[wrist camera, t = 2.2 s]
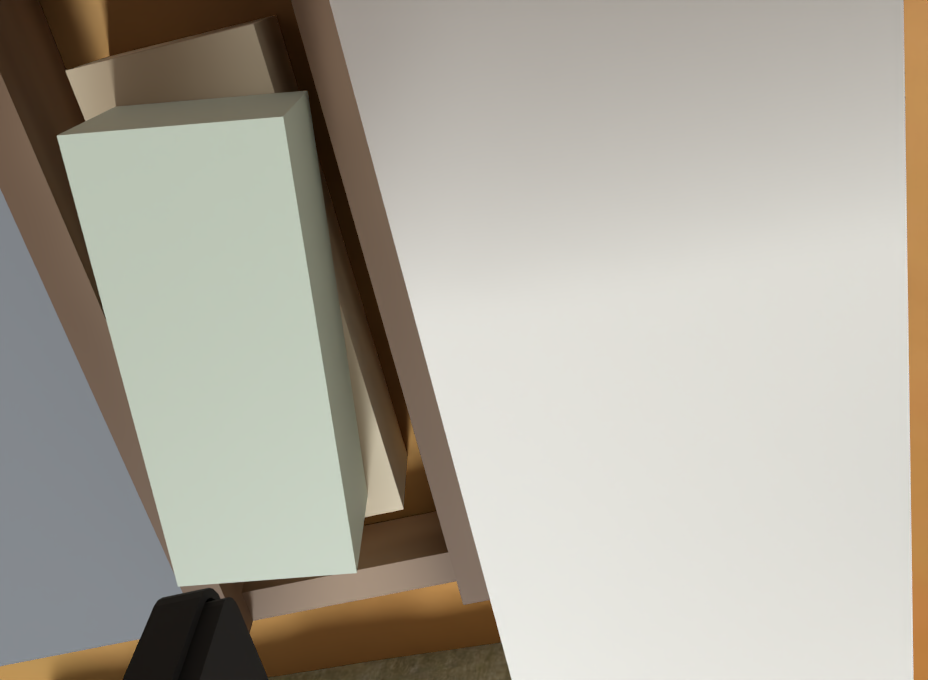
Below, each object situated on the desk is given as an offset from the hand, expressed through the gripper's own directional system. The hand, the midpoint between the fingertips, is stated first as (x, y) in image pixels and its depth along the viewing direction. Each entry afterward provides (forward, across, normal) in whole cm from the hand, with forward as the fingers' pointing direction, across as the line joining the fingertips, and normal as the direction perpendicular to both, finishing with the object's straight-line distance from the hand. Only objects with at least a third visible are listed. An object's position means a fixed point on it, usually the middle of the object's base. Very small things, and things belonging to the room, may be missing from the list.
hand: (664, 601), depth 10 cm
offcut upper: (+11, +7, 0) cm, 13 cm away
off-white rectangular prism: (+14, -1, -1) cm, 14 cm away
